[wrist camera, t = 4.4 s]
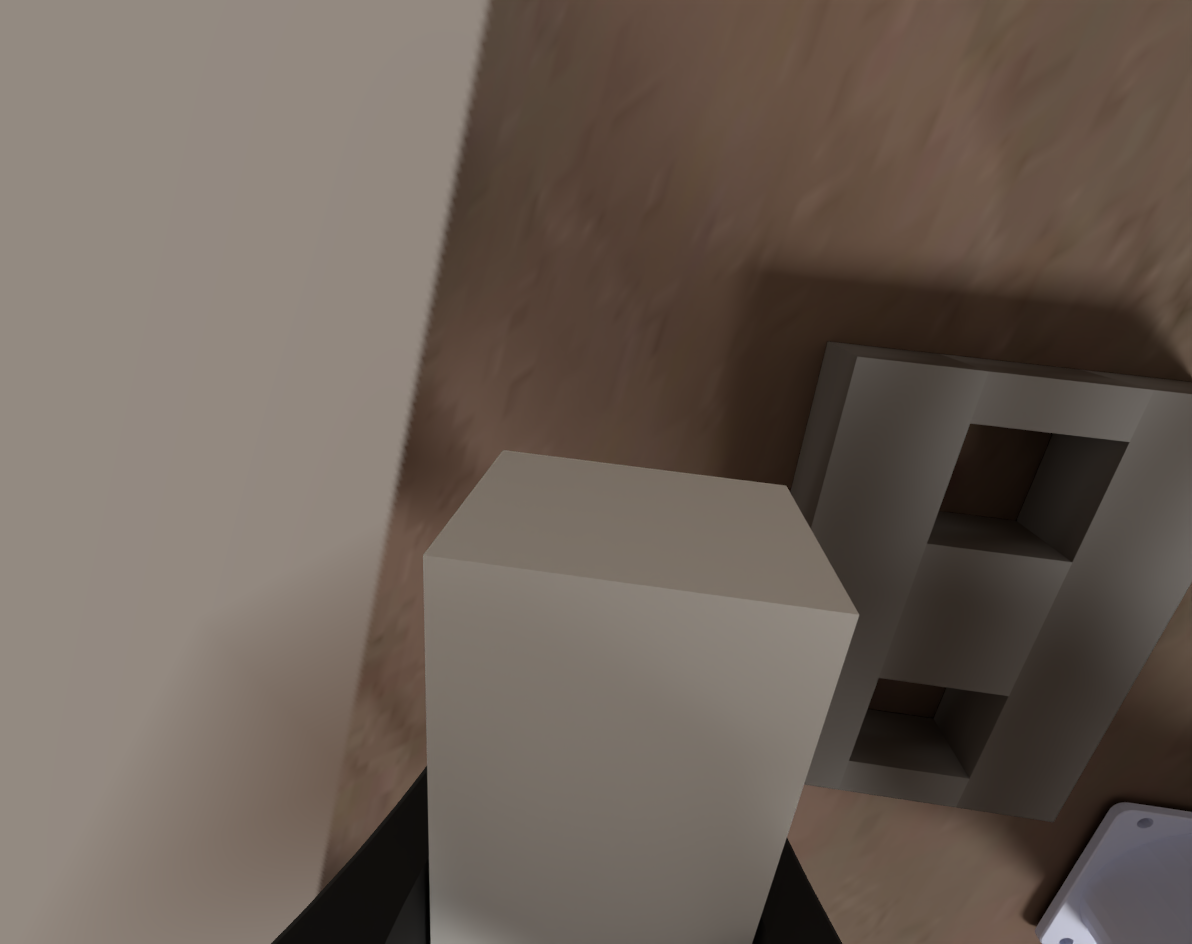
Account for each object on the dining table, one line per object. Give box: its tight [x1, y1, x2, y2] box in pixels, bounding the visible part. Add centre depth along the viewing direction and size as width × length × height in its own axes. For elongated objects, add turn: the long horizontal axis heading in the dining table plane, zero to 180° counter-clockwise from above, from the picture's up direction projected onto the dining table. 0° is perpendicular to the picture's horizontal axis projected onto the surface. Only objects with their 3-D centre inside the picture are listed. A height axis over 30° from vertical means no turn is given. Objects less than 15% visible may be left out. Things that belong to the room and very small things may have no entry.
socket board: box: [790, 341, 1192, 822], centre depth 17 cm, size 10×14×2 cm
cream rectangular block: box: [423, 450, 859, 944], centre depth 10 cm, size 4×12×6 cm, turn 175°
